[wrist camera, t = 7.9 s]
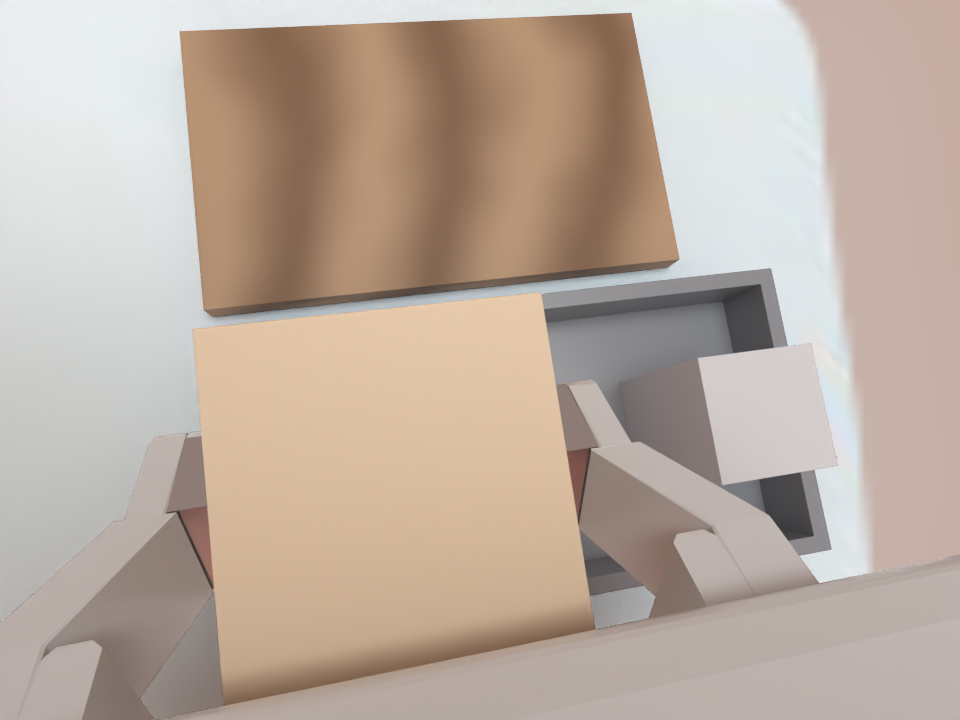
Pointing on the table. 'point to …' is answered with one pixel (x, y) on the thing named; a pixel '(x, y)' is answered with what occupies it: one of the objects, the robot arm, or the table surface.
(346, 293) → the pad
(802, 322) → the table surface
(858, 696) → the robot arm
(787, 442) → the plain box
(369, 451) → the labelled box
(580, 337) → the bin
